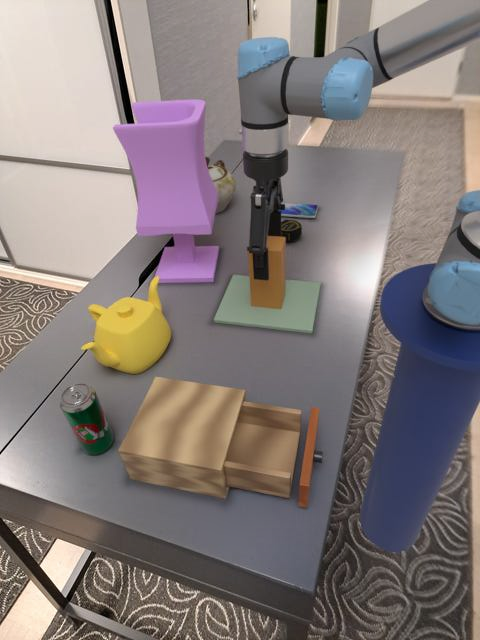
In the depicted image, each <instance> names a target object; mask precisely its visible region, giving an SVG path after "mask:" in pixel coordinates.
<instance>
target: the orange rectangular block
mask: <svg viewBox="0 0 480 640" xmlns="http://www.w3.org/2000/svg"><path fill="white" fill-rule="evenodd" d="M286 244H287V242H286V237H278V236H268V238H267V248H268V262H269V280H257V279H254V273H253V255H252V253H249V251H248V250H247V260H248V276H249V279H250V295H251V306H255V307H265V308H274V309H282V305H283V301H284V297H285V279H286V275H287V273H286V271H287V270H286V269H287V267H286V265H287V263H286V261H287V259H286V257H287V256H286V254H287V253H286V249H287V248H286V247H287V246H286Z"/></svg>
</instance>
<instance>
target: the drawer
mask: <svg viewBox="0 0 480 640" xmlns="http://www.w3.org/2000/svg"><path fill="white" fill-rule="evenodd" d="M302 412H303V411H302V409H297V408H290V407H285V406H284V407H283V406H278V405H277V406H276V405H270V404H265V403H257V402H251V401H246V402H245V401H243V404H242V407H241V410H240V414H239V417H238V420H237V424H236V427H235V430H234V434H233V437H232V441H231V444H230V447H229V451H228V454H227V457H226V461H225V464H224V467H223V470H224V476H225V482H226V486H230V487H229V488H236V489H241V490H245V491H251V492H256V493H262V494H266V495H269V496H270V495H271V496H276V497H280V498H281V497H282V498H285V499H290V498H291V494H292V493H291V492H292V487H293V486H292V485H293V481H294V475H295V469H296V467H295V466H296V461H297V457H298V452H299V451H298V450H299V444H300V437H301V432H302ZM319 419H320V407H315V406H311V407H310V413H309V419H308V426H307V433H306V440H305V445H304V452H303V458H302V465H301V471H300V472H301V473H300V478H299V479H300V480H299V483H298V484H299V485H298V507H299V508H305V509H308V506H309V498H310V492H311V485H312V484H311V483H312V477H313V469H314V463H315V464H322V463H323V458H324V457H323V456H324V451H321V450H316V447H317V437H318V429H319V421H320V420H319Z"/></svg>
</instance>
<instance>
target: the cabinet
mask: <svg viewBox="0 0 480 640" xmlns="http://www.w3.org/2000/svg"><path fill="white" fill-rule="evenodd" d="M243 401H245V402H247V392H246V389H242V388H235V387H229V386H222V385H215V384H208V383H201V382H195V381H188V380H182V379H174V378H169V377H160V376H154V379H153V381H152V382H151V385H150V387H149V388H148V391H147V393H146V396H144V398H143V401H142V402H141V405H140V406H139V409H138V411H137V413H136V414H135V416H134V418H133V421H132V423H131V425H130V427H129V429H128V430H127V432H126V434H125V436H124V438H123V440H122V442H121V444H120V446H119V448H118V451H117V452H118V453H119V456H120V457H121V458H120V459H121V460H122V462H123V464H124V468H125V469H126V472H127V474H128V477H129V479H130V480H132V481H135V482H142V483H146V484H152V485H157V486H161V487H166V488H170V489H176V490H180V491H184V492H185V491H186V492H190V493H193V494H200V495H204V496H210V497H213V498H218V499H223V500H227V498H228V494H229V490H230V488H231V487H230V486H226V482H225V476H224V470H223V467H224V464H225V461H226V457H227V454H228V451H229V447H230V444H231V441H232V437H233V434H234V430H235V427H236V424H237V420H238V417H239V414H240V410H241V407H242V404H243Z"/></svg>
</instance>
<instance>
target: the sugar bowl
mask: <svg viewBox="0 0 480 640" xmlns="http://www.w3.org/2000/svg"><path fill="white" fill-rule="evenodd" d="M205 159H206V164H207V167H208V171H209V174H210V176H211V179H212V181H213V183H214V185H215V188H216V190H217V192H218V205H217V209H216V212H215V214H218V213H222V212H223V211H224V210H226V208H227V206H228V205H229V204H230V202H231V200H232V198H233V197H234V195H235V192H236V189H237V181H236V179H235V176H234V175H233V174H232V173H231V172H230V171H229V170H228V169H227V168H226V165H225V162H224V161H223V160H222V159H219V160H217V161H216V162H214V163H213V164H212V165H210V162H211V159H210V157H208V156H205Z"/></svg>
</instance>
